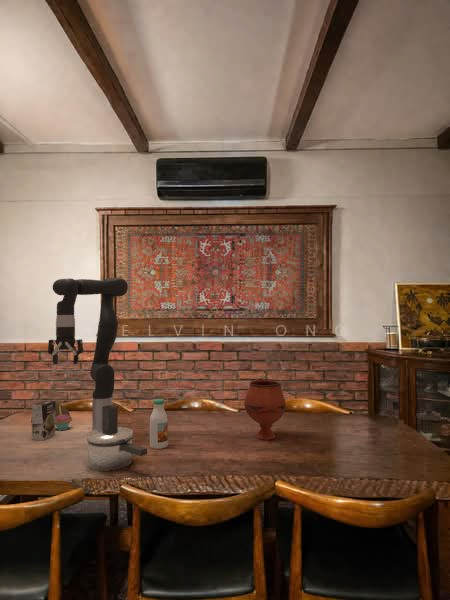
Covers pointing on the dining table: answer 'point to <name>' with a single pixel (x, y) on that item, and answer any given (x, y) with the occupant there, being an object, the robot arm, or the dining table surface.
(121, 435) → the cooker lid
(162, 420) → the milk bottle
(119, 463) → the cooker pot
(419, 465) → the dining table surface
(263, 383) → the goblet
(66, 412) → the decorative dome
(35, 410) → the coffee box
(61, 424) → the cupcake
